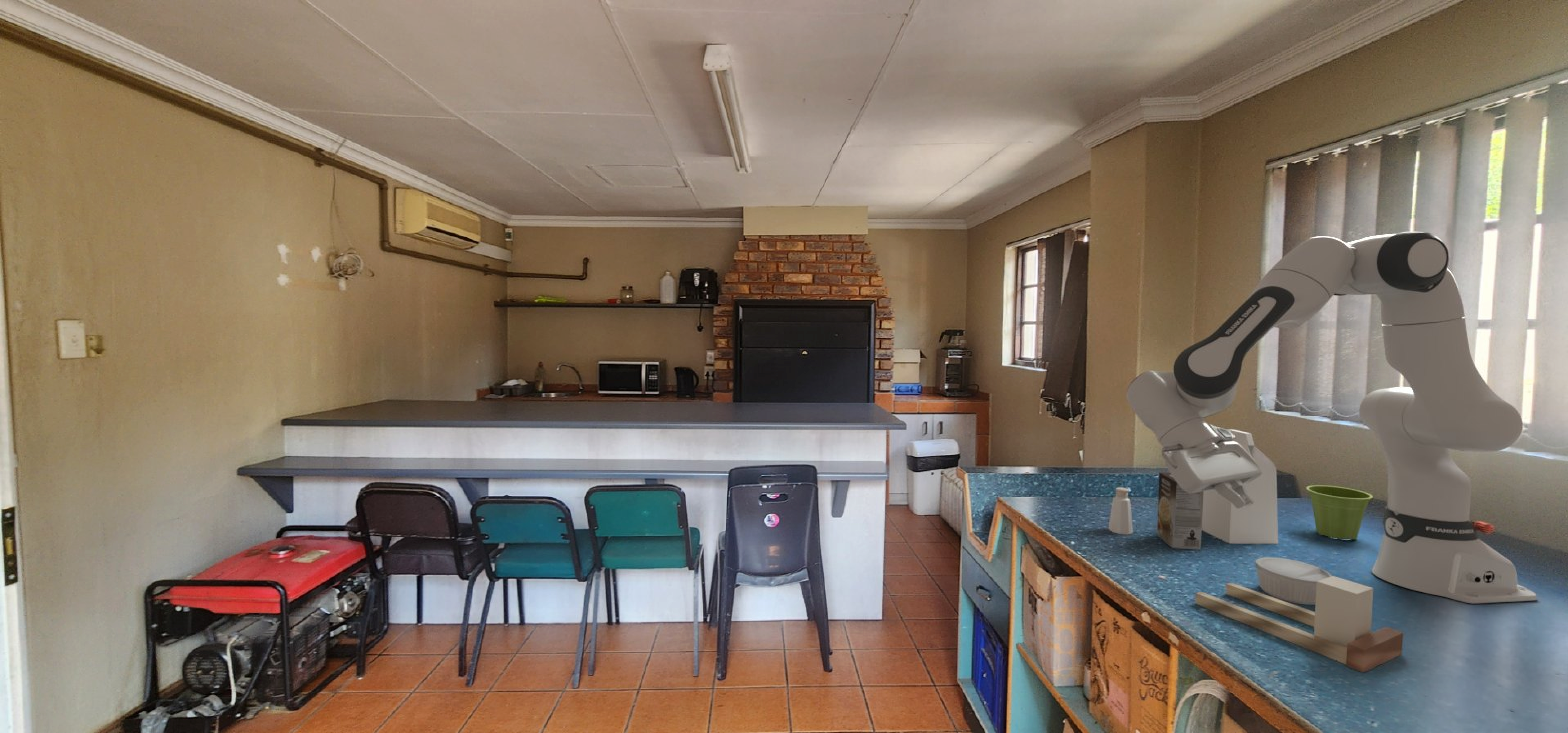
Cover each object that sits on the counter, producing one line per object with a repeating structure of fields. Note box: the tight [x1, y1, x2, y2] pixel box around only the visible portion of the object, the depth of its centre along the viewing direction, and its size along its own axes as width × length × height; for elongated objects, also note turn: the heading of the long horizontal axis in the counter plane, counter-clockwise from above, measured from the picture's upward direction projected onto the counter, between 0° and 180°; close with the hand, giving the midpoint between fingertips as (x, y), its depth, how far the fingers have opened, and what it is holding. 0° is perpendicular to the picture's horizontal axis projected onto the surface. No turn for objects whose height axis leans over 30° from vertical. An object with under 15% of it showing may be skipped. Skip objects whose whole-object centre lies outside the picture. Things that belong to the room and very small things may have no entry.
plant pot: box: [1305, 484, 1374, 540], centre depth 143 cm, size 12×12×11 cm
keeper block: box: [1313, 575, 1374, 647], centre depth 93 cm, size 5×5×10 cm
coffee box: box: [1156, 471, 1204, 551], centre depth 139 cm, size 9×6×16 cm
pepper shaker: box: [1108, 487, 1134, 535], centre depth 147 cm, size 5×5×11 cm
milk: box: [1202, 428, 1279, 545], centre depth 144 cm, size 12×12×26 cm
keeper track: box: [1194, 582, 1404, 674], centre depth 100 cm, size 24×12×4 cm, turn 24°
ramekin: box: [1254, 556, 1332, 606], centre depth 112 cm, size 11×11×5 cm
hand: (1246, 506), depth 105 cm, fingers closed
